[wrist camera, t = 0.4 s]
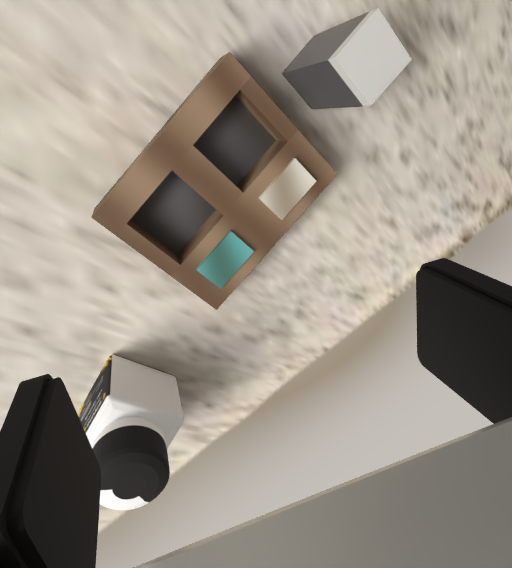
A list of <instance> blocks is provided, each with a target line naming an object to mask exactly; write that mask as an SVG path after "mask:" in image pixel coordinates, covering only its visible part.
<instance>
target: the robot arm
mask: <svg viewBox="0 0 512 568" xmlns="http://www.w3.org/2000/svg"><path fill="white" fill-rule="evenodd" d="M416 290H417V291H416V297H417V354H418V358H419V360H420V362H421V364H422V365H423V366H424V367H425V368H426V369H427V370H429V371H430V372H431V373H432V374H434V375H435V376H436V377H437V378H438V379H440V380H441V381H442V382H443V383H445V384H446V385H447V386H448V387H449V388H451V389H452V390H453V391H454V392H456V393H457V394H458V395H459V396H461V397H462V398H463V399H464V400H465V401H467V402H468V403H469V404H470V405H472V406H473V407H474V408H475V409H476V410H478V411H479V412H480V413H481V414H483V415H484V416H485V417H486V418H487V419H489V420H490V421H491V422H492V423H494V424H493V425H490V426H488V427H485V428H483V429H480V430H478V431H475V432H472V433H470V434H467V435H464V436H462V437H459V438H457V439H454V440H452V441H449V442H446V443H444V444H442V445H439V446H436V447H434V448H431V449H429V450H426V451H424V452H421V453H418V454H416V455H413V456H411V457H408V458H406V459H403V460H401V461H398V462H396V463H393V464H390V465H388V466H385V467H383V468H380V469H378V470H375V471H373V472H370V473H368V474H365V475H363V476H360V477H358V478H355V479H352V480H350V481H347V482H345V483H343V484H340V485H337V486H335V487H332V488H330V489H327V490H325V491H322V492H320V493H317V494H315V495H312V496H310V497H307V498H305V499H302V500H300V501H297V502H295V503H292V504H290V505H287V506H285V507H282V508H280V509H277V510H275V511H272V512H270V513H267V514H265V515H262V516H260V517H257V518H255V519H252V520H250V521H247V522H245V523H242V524H240V525H237V526H235V527H232V528H230V529H227V530H225V531H222V532H220V533H218V534H215V535H212V536H210V537H207V538H205V539H203V540H200V541H198V542H195V543H192V544H190V545H188V546H185V547H183V548H180V549H178V550H175V551H173V552H170V553H168V554H166V555H163V556H161V557H158V558H156V559H154V560H151V561H149V562H146V563H144V564H141V565H139V566H136V567H134V568H512V286H510V285H507V284H505V283H502V282H500V281H498V280H496V279H493V278H491V277H488V276H486V275H484V274H481V273H479V272H477V271H474V270H472V269H470V268H467V267H465V266H462V265H460V264H458V263H455V262H453V261H451V260H448V259H445V258H442V259H438V260H435V261H431V262H428V263H425V264H423V265H422V266H421V268H420V270H419V271H418V272H417V274H416ZM100 490H101V470H100V466H99V463H98V460H97V458H96V456H95V453H94V451H93V449H92V447H91V444H90V442H89V440H88V438H87V435H86V433H85V431H84V428H83V426H82V424H81V422H80V419H79V417H78V415H77V413H76V410H75V408H74V406H73V403H72V401H71V399H70V397H69V394H68V392H67V390H66V388H65V385H64V383H63V381H62V379H61V378H59V377H58V378H55V379H53V378H52V377H51V376H50V375H49V374H46V375H43V376H39V377H36V378H32V379H29V380H26V381H22V382H21V383H20V384H19V387H18V389H17V392H16V394H15V397H14V399H13V401H12V404H11V406H10V409H9V411H8V414H7V416H6V419H5V421H4V424H3V426H2V429H1V431H0V568H95V564H96V549H97V535H98V520H99V505H100Z"/></svg>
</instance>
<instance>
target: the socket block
mask: <svg viewBox="0 0 512 568" xmlns="http://www.w3.org/2000/svg"><path fill="white" fill-rule="evenodd" d="M336 175H337V173H336V172H335V171H334V170H333V169H332V167H331V166H330V165H329V164H328V163H327V162H326V161H325V160H324V158H323V157H322V156H321V155H320V154H319V153H318V152H317V150H316V149H315V148H314V147H313V146H312V145H311V144H310V143H309V141H308V140H307V139H306V138H305V137H304V136H303V135H302V133H301V132H300V131H299V130H298V129H297V128H296V127H295V126H294V124H293V123H292V122H291V121H290V120H289V119H288V118H287V116H286V115H285V114H284V113H283V112H282V111H281V110H280V109H279V107H278V106H277V105H276V104H275V103H274V102H273V101H272V99H271V98H270V97H269V96H268V95H267V94H266V93H265V92H264V90H263V89H262V88H261V87H260V86H259V85H258V84H257V82H256V81H255V80H254V79H253V78H252V77H251V76H250V75H249V73H248V72H247V71H246V70H245V69H244V68H243V67H242V65H241V64H240V63H239V62H238V61H237V60H236V59H235V58H234V56H233V55H232V54H231V53H230V52H229V53H228V54H226V55H224V56H223V57H221V58H220V59H219V60H218V61H217V63H216V64H215V65H214V66H213V67H212V68H211V70H210V71H209V72H208V73H207V74H206V76H205V77H204V78H203V79H202V80H201V82H200V83H199V84H198V85H197V86H196V88H195V89H194V90H193V91H192V92H191V94H190V95H189V96H188V97H187V98H186V100H185V101H184V102H183V103H182V104H181V106H180V107H179V108H178V109H177V110H176V112H175V113H174V114H173V115H172V116H171V118H170V119H169V120H168V121H167V122H166V124H165V125H164V126H163V127H162V128H161V130H160V131H159V132H158V133H157V134H156V136H155V137H154V138H153V139H152V140H151V142H150V143H149V144H148V145H147V146H146V148H145V149H144V150H143V151H142V152H141V154H140V155H139V156H138V157H137V158H136V160H135V161H134V162H133V163H132V164H131V166H130V167H129V168H128V169H127V170H126V172H125V173H124V174H123V175H122V176H121V178H120V179H119V180H118V181H117V182H116V184H115V185H114V186H113V187H112V188H111V189H110V191H109V192H108V193H107V194H106V195H105V197H104V198H103V199H102V200H101V201H100V203H99V204H98V205H97V206H96V207H95V209H94V212H93V215H92V218H93V219H94V220H96V221H97V222H98V223H100V224H101V225H102V226H104V227H105V228H106V229H108V230H109V231H111V232H112V233H113V234H115V235H116V236H117V237H119V238H120V239H121V240H123V241H124V242H125V243H127V244H128V245H129V246H131V247H132V248H134V249H135V250H136V251H138V252H139V253H140V254H142V255H143V256H144V257H146V258H147V259H148V260H150V261H151V262H153V263H154V264H155V265H157V266H158V267H159V268H161V269H162V270H163V271H165V272H166V273H167V274H169V275H170V276H171V277H173V278H174V279H176V280H177V281H178V282H180V283H181V284H182V285H184V286H185V287H186V288H188V289H189V290H190V291H192V292H193V293H194V294H196V295H197V296H199V297H200V298H201V299H203V300H204V301H205V302H207V303H208V304H209V305H211V306H212V307H213V308H215V309H216V310H217V309H218V308H219V306H220V305H221V304H222V303H223V302H224V301H225V300H226V299H227V297H228V296H229V295H230V294H231V293H232V292H233V291H234V290H235V288H236V287H237V286H238V285H239V284H240V283H241V282H242V281H243V280H244V278H245V277H246V276H247V275H248V274H249V273H250V272H251V271H252V269H253V268H254V267H255V266H256V265H257V264H258V263H259V262H260V260H261V259H262V258H263V257H264V256H265V255H266V254H267V253H268V251H269V250H270V249H271V248H272V247H273V246H274V245H275V244H276V242H277V241H278V240H279V239H280V238H281V237H282V236H283V235H284V234H285V232H286V231H287V230H288V229H289V228H290V227H291V226H292V225H293V223H294V222H295V221H296V220H297V219H298V218H299V217H300V216H301V214H302V213H303V212H304V211H305V210H306V209H307V208H308V207H309V205H310V204H311V203H312V202H313V201H314V200H315V199H316V198H317V196H318V195H319V194H320V193H321V192H322V191H323V190H324V189H325V188H326V186H327V185H328V184H329V183H330V182H331V181H332V180H333V179H334V177H335V176H336Z"/></svg>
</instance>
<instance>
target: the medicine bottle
mask: <svg viewBox="0 0 512 568" xmlns="http://www.w3.org/2000/svg"><path fill="white" fill-rule="evenodd" d="M78 417H79V419H80V422H81V424H82V426H83V428H84V431H85V433H86V435H87V438H88V440H89V442H90V444H91V447H92V449H93V451H94V453H95V456H96V458H97V460H98V463H99V466H100V470H101V490H100V504H101V505H103V506H104V507H107V508H110V509H114V510H130V509H134V508H138V507H141V506H143V505H145V504H147V503H149V502H150V501H152V500H153V499H154V498H156V497H157V496H158V495H159V494H160V493H161V492H162V490H163V489H164V488H165V486H166V484H167V482H168V479H169V463H168V455H167V448H168V447H169V445H170V443H171V442H172V440H173V438H174V437H175V435H176V434H177V432H178V430H179V429H180V427H181V425H182V424H183V422H184V416H183V411H182V406H181V401H180V396H179V391H178V386H177V381H176V378H175V377H174V376H172V375H169V374H166V373H164V372H161V371H158V370H155V369H152V368H149V367H147V366H144V365H141V364H138V363H135V362H133V361H130V360H127V359H124V358H121V357H118V356H116V355H111V356H110V357H109V358H108V360H107V362H106V363H105V365H104V367H103V369H102V371H101V372H100V374H99V376H98V378H97V380H96V381H95V383H94V385H93V387H92V389H91V390H90V392H89V394H88V396H87V398H86V399H85V401H84V403H83V405H82V407H81V408H80V410H79V416H78Z"/></svg>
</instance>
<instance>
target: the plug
mask: <svg viewBox="0 0 512 568" xmlns="http://www.w3.org/2000/svg"><path fill="white" fill-rule="evenodd" d="M411 60H412V59H411V57H410V56H409V54H408V53H407V51H406V50H405V48H404V46H403V45H402V43H401V42H400V40H399V39H398V37H397V36H396V34H395V33H394V31H393V30H392V28H391V26H390V25H389V23H388V22H387V20H386V19H385V17H384V16H383V14H382V13H381V11H380V10H379V8H377V9H374V10H372V11H370V12H367V13H365V14H363V15H361V16H358V17H356V18H354V19H352V20H349V21H347V22H345V23H342V24H340V25H338V26H336V27H333V28H331V29H329V30H327V31H324V32H322V33H320V34H317V35H315V36H313V38H312V39H311V40H310V41H309V42H308V43H307V45H306V46H305V47H304V48H303V49H302V50H301V52H300V53H299V54H298V55H297V56H296V58H295V59H294V60H293V61H292V62H291V63H290V65H289V66H288V67H287V68H286V69H285V70H284V72H283V73H282V74H283V75H284V77H285V78H286V79H287V80H288V81H289V83H290V84H291V85H292V86H293V87H294V89H295V90H296V91H297V92H298V93H299V95H300V96H301V97H302V98H303V99H304V100H305V102H306V103H307V104H308V105H309V106H310V108H311V109H323V108H341V107H360V106H371V105H372V104H373V103H374V102H375V101H376V99H377V98H378V97H379V96H380V95H381V94H382V93H383V92H384V90H385V89H386V88H387V87H388V86H389V85H390V84H391V82H392V81H393V80H394V79H395V78H396V77H397V76H398V75H399V73H400V72H401V71H402V70H403V69H404V68H405V67H406V66H407V64H408V63H409V62H410V61H411Z"/></svg>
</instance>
